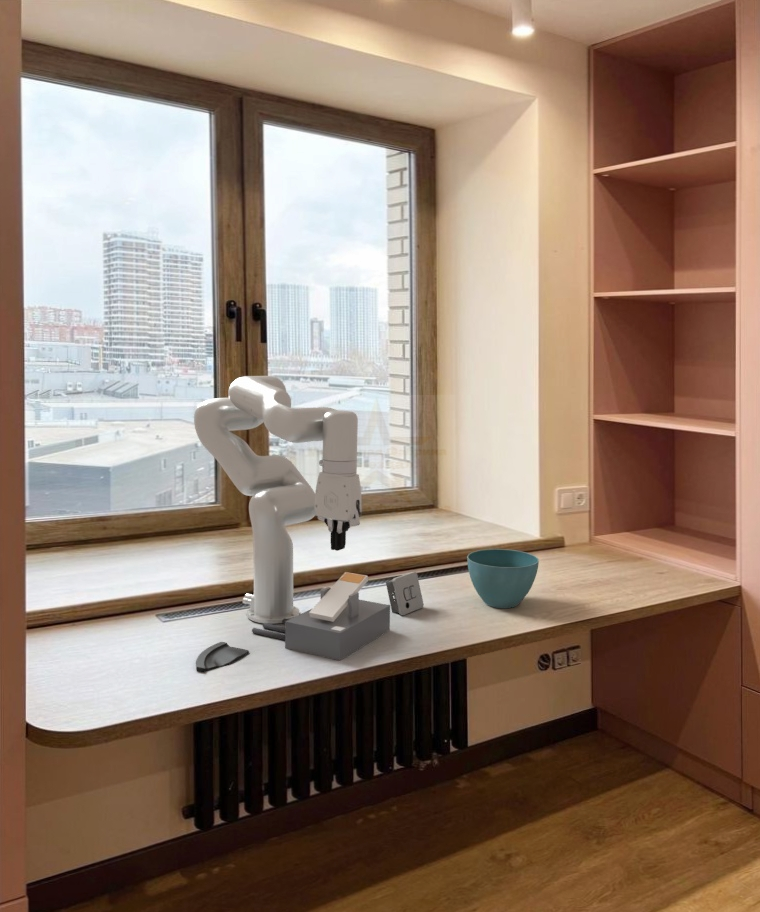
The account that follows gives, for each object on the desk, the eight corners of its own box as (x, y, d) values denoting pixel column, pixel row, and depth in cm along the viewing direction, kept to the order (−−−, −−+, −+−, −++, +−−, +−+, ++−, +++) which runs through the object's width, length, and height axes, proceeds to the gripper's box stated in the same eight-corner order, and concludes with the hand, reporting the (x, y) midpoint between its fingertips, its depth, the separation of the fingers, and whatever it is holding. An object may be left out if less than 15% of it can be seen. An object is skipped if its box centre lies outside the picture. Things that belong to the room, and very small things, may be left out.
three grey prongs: (250, 633, 187) (250, 628, 186) (277, 620, 195) (277, 616, 195) (294, 643, 181) (294, 638, 180) (319, 629, 189) (320, 624, 189)
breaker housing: (285, 648, 178) (285, 599, 176) (338, 619, 197) (339, 575, 195) (339, 660, 171) (340, 609, 170) (389, 630, 190) (390, 584, 189)
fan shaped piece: (178, 669, 166) (178, 662, 166) (220, 648, 178) (220, 641, 178) (211, 677, 163) (210, 669, 163) (251, 655, 175) (251, 647, 175)
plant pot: (543, 615, 203) (545, 567, 201) (470, 614, 202) (471, 566, 201) (529, 593, 221) (531, 549, 219) (462, 592, 220) (463, 548, 219)
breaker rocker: (310, 616, 178) (309, 612, 178) (346, 576, 190) (345, 571, 190) (333, 621, 175) (332, 616, 175) (368, 580, 188) (367, 575, 187)
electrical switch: (402, 617, 200) (399, 579, 199) (385, 614, 203) (383, 577, 202) (424, 608, 207) (422, 572, 207) (408, 605, 210) (406, 570, 210)
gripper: (302, 465, 179) (300, 547, 182) (357, 473, 171) (356, 558, 174) (322, 462, 185) (321, 540, 188) (377, 469, 177) (375, 551, 180)
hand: (337, 548), depth 181 cm, fingers closed
